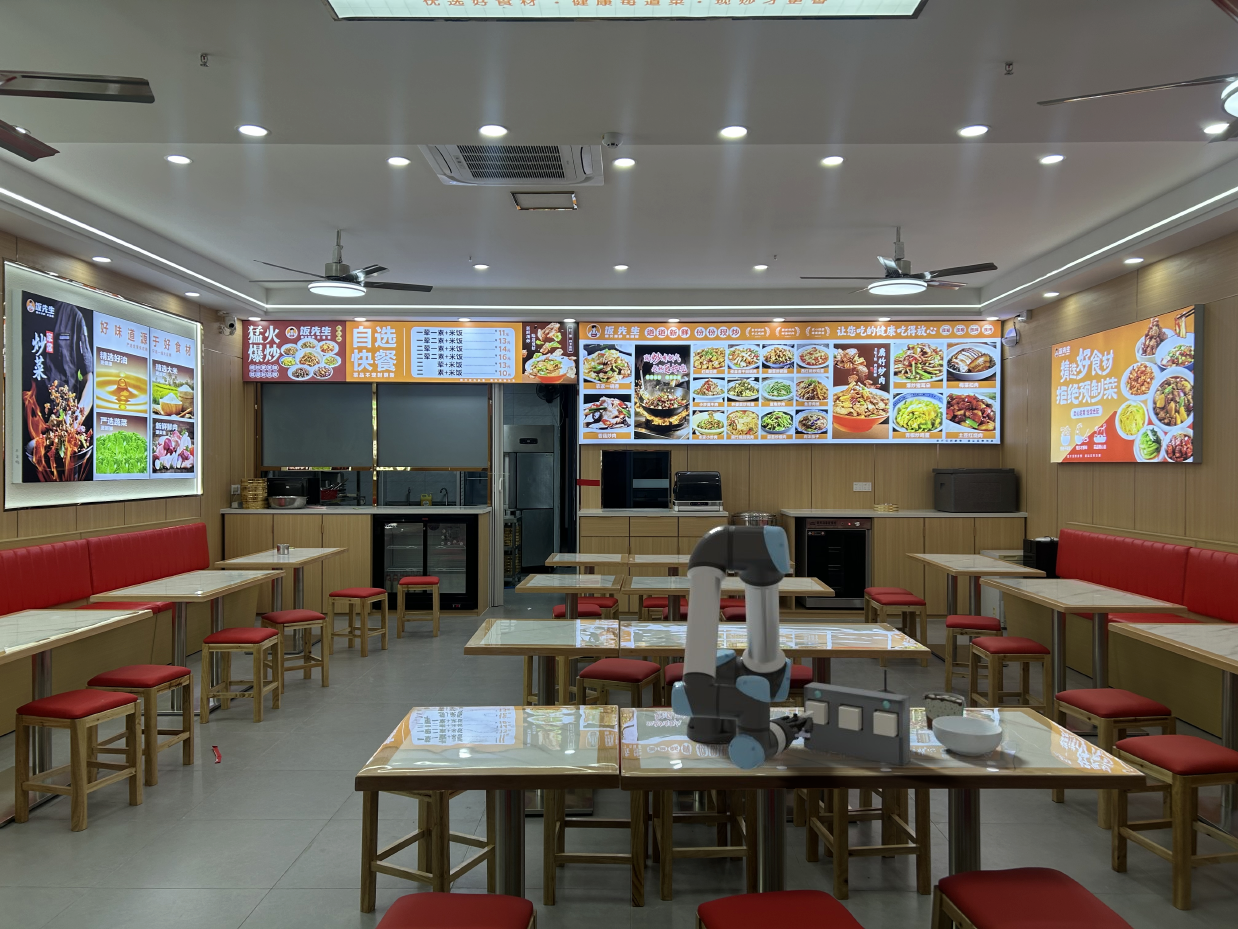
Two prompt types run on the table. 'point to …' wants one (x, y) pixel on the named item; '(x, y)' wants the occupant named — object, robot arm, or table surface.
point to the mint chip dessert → (942, 706)
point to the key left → (819, 710)
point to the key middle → (851, 717)
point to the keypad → (863, 739)
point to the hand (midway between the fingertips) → (811, 716)
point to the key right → (886, 723)
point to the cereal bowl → (967, 734)
